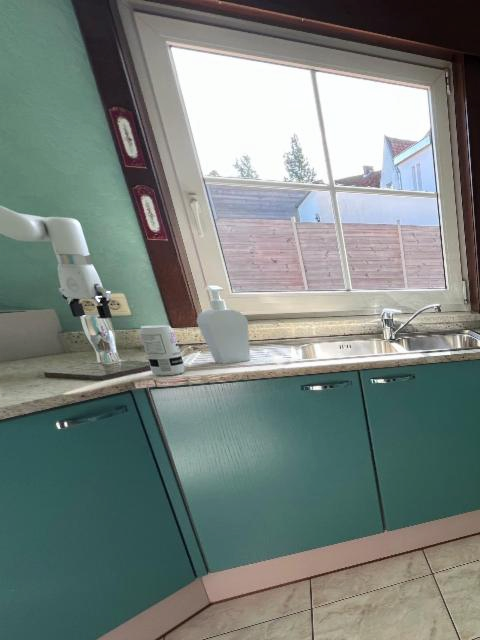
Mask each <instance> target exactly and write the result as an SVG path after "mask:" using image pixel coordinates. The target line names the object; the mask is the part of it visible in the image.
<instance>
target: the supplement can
mask: <svg viewBox="0 0 480 640" xmlns="http://www.w3.org/2000/svg"><path fill="white" fill-rule="evenodd" d="M139 336H140V338H141V342H142V346H143V348H144V351H145V355H146V357H147V362H149V364H150V367H151V370H150V371H151V373H152V374H153V375H155V376H156V375H172V376H174V375H173V374H178V375H181V374H180V373H182V374H184V373H185V371H186V367H185V363H184V360H183V356H182V354H181V353H182V352H181V350H180V346H179V342H178V340H177V336H176V333H175V330H174V329H173V328H172V326H171V325H170V324H149V325H142V326H140V329H139ZM183 372H184V373H183Z"/></svg>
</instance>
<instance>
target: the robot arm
mask: <svg viewBox="0 0 480 640" xmlns="http://www.w3.org/2000/svg"><path fill="white" fill-rule="evenodd" d="M0 235H3V236H5V237H8V238H10V239H12V240H16V241H20V242H30V243H31V242H32V243H43V242H51V245H52V248H53V251H54V254H55V258H56V260H57V263H58V264H57V274H58V275H57V276H58V280H59V284H60V287H59V288H58V291H59V293H60V294H61V296H62V298H63V299H64V300H66V303H67V304H68V305H69V308H70V311H71V314H72V316H73V318H74V317H75V318H78V317H79V318H80V316H82V315H86V312H85V309H84V306H83V303H81V300H92V301H93V302H94V303H95V304H96V306H95V307H96V310H97V314H99V317H100V318H101V319H104V318H109V319H112V318H113V316H112V313H111V309H110V305H111V304H110V302H111V300H112V299H111V294H112V292H111V291H110V290H108V289H106V288H104V287H103V283H102V281H101V278H100V275H99V274H98V271H97V270H96V268H95V266H94V264H93V261H92V257H91V254H90V251H89V247H88V244H87V242H86V237H85V235H84V232H83V227H82V225H81V223H80V221H79V220H78V219H76V218H72V217H65V216H64V217H63V216H47V217H45V216H39V215H33V214H26V213H19V212H16V211H14V210H12V209H10V208H7V207H5V206H3V205H0Z"/></svg>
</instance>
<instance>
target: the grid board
mask: <svg viewBox="0 0 480 640" xmlns="http://www.w3.org/2000/svg"><path fill="white" fill-rule="evenodd" d="M148 370H149V371H152V370H151V367H150V364H149V361H148V360H130V359H122V361H119V362H114V363H98V362H97V361H95V362H90V363H85V364H79V365H74V366H67V367H64V368H58V369H53V370H47V371H43V374H44V377H45V378H57V379H70V380H71V379H73V380H87V381H88V380H89V381H107V380H108V381H109V380H112V379H116V378H121V377H126V376H131V375H136V374H139V373H143V372H148Z"/></svg>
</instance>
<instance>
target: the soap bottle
mask: <svg viewBox="0 0 480 640" xmlns="http://www.w3.org/2000/svg"><path fill="white" fill-rule="evenodd" d="M203 289H204V291H209V290H210V293H211V295H212V299H210V300H209V302H210V306H211V308H206V309H205V310H203V311H201V312H200V313H199V315H198V316H197V317H196V324H197V326H198V328H199V330H200V333H201V335H202V337H203V339H204V342H205V343H206V346H207V348H208V350H209V352H210V354H211V356H212V358H213V360H214V362H215V363H219V364H223V365H228V364H233V363H242V362H247V361H250V360H251V355H250V338H249V337H250V336H249V320H248V319H247V317H246V316H245V315H244V314H242V313H241V312H239V311H237V310H234V309H231V308H227V304H226V300H225V299H221V296H220V292H221V291H223V292H224V288H223V287H221V286H219V285H205V286H204V288H203ZM219 291H220V292H219Z"/></svg>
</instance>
